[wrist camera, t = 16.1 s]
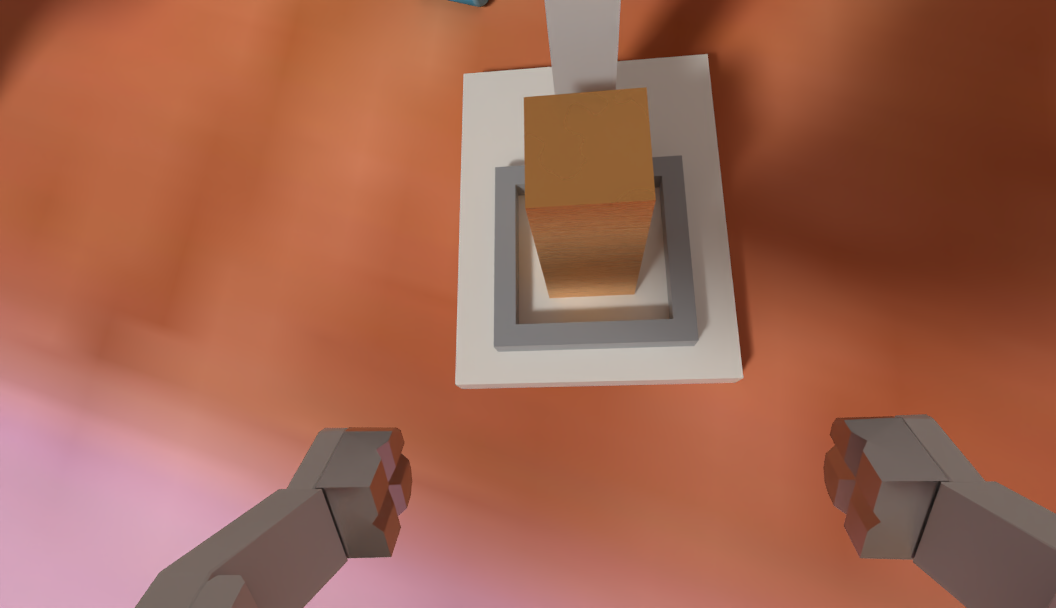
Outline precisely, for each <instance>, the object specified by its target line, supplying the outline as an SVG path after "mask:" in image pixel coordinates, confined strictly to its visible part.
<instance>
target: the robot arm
mask: <svg viewBox="0 0 1056 608" xmlns="http://www.w3.org/2000/svg"><path fill="white" fill-rule="evenodd" d="M830 436H831V438H832V440H833V441H834V443H835V446H834V447H832V448H831V449H830V450H829V451H828V452H827V453H826V455H825V461H824V467H823V468H824V479H825V485H826V488H827V491H828V494H829V496H830V499H831V501H832V503H833V505H834V506H835V507H837V508H838V509H840V510H841V511H842V512H844V513H845V514H847V515H846V519H845V523H844V527H845V529H846V531H847V533H848V535H849V537H850V539H851V541H852V543H853V545H854V547H855V549H856V551H857V553H858V555H859V557H860V558H875V559H910V560H913V562H914V563H915V564H916V565H917V566H918V567H919V568H921V569H922V570H923V571H924V572H925V573H927V574H928V575H929V576H930V577H931V578H932V579H934V580H935V581H936V582H937V583H938V584H940V585H941V586H942V587H943V588H944V589H946V590H947V591H948V592H949V593H950V594H951V595H953V596H954V597H955V598H956V599H957V600H959V601H960V602H961V603H962V604H963V605H964V606H966V607H967V608H1056V514H1055V513H1053V512H1051V511H1049V510H1048V509H1046V508H1044V507H1042V506H1040V505H1038V504H1036V503H1034V502H1033V501H1031V500H1029V499H1027V498H1025V497H1023V496H1021V495H1020V494H1018V493H1016V492H1014V491H1012V490H1010V489H1008V488H1006V487H1005V486H1003V485H1001V484H999V483H997V482H986V481H985V480H984V479H983V478H982V477H981V475H980V474H979V473H978V472H977V470H976V469H975V468H974V467H973V466H972V464H971V463H970V462H969V461H968V460H967V458H966V457H965V456H964V455H963V454H962V452H961V451H960V450H959V449H958V448H957V446H956V445H955V444H954V443H953V442H952V440H951V439H950V438H949V437H948V436H947V434H946V433H945V432H944V431H943V430H942V428H941V427H940V426H939V425H938V424H937V422H936V421H935V420H934V419H933V418H932V417H930V416H928V415H926V414H922V415H897V416H882V417H847V418H836V419H835V421H834V422H833V424H832V427H831V432H830ZM403 446H404V439H403V436H402V433H401V430H400V429H398V428H381V427H349V428H324V429H323V430H321V431H320V432H319V433H318V435H317V436H316V438H315V440H314V442H313V443H312V445H311V447H310V449H309V450H308V452H307V454H306V456H305V457H304V459H303V461H302V463H301V464H300V466H299V468H298V470H297V471H296V473H295V475H294V477H293V478H292V480H291V482H290V483H289V485H288V487H287V489H279V490H277V491H276V492H274V493H273V494H272V495H270V496H269V497H267V498H266V499H264V500H263V501H261V502H260V503H259V504H257V505H256V506H254V507H253V508H251V509H250V510H249V511H247V512H246V513H244V514H243V515H241V516H240V517H238V518H237V519H236V520H234V521H233V522H231V523H230V524H228V525H227V526H226V527H224V528H223V529H221V530H220V531H218V532H217V533H215V534H214V535H213V536H211V537H210V538H208V539H207V540H205V541H204V542H203V543H201V544H200V545H198V546H197V547H195V548H194V549H192V550H191V551H190V552H188V553H187V554H185V555H184V556H182V557H181V558H180V559H178V560H177V561H175V562H174V563H172V564H171V565H169V566H168V567H167V568H165V569H164V570H162V571H161V572H160V573H159V574H158V575H157V577H156V578H155V580H154V581H153V582H152V584H151V585H150V587H149V588H148V590H147V591H146V592H145V594H144V595H143V597H142V598H141V599H140V601H139V602H138V604H137V605H136V607H135V608H303V607H304V606H305V605H306V604H307V603H308V602H309V601H310V600H311V599H312V598H313V597H314V596H315V595H316V594H317V593H318V592H319V590H320V589H321V588H322V587H323V586H324V585H325V584H326V583H327V582H328V581H329V580H330V579H331V578H332V577H333V576H334V575H335V574H336V573H337V571H338V570H339V569H340V568H341V567H342V566H343V565H344V564H345V563H346V562H347V558H374V557H391V556H392V553H393V550H394V547H395V544H396V541H397V538H398V535H399V532H400V528H401V526H400V522H399V519H398V516H399V515H400V514H401V513H402V512H403V511H404V510H406V509H407V506H408V503H409V500H410V496H411V487H412V473H411V466H410V462H409V460H408V459H407V458H406V457H405V456H404V455H403V454H401V452H402V449H403Z"/></svg>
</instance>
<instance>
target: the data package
mask: <svg viewBox="0 0 1056 608" xmlns="http://www.w3.org/2000/svg"><path fill="white" fill-rule="evenodd" d="M449 1H454V2H458V3H463V4H468V5H472V6H477V7H481V6H484V5H485V4H486V3H487V2H488V0H449Z"/></svg>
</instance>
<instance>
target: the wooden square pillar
mask: <svg viewBox="0 0 1056 608" xmlns="http://www.w3.org/2000/svg"><path fill="white" fill-rule="evenodd" d="M524 159H525V209H526V213H527V217H528V221H529V224H530V228H531V232H532V235H533V239H534V243H535V246H536V250H537V254H538V258H539V261H540V265H541V269H542V272H543V276H544V280H545V283H546V287H547V291H548V295H549V298H565V297H588V296H610V295H633V294H635V289H636V285H637V281H638V276H639V272H640V267H641V263H642V259H643V254H644V250H645V245H646V241H647V237H648V232H649V228H650V223H651V219H652V215H653V210H654V206H655V201H656V197H655V185H654V172H653V160H652V147H651V135H650V123H649V110H648V98H647V87H643V88H631V89H619V90H606V91H594V92H581V93H569V94H557V95H544V96H532V97H524Z"/></svg>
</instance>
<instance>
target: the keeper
mask: <svg viewBox="0 0 1056 608" xmlns="http://www.w3.org/2000/svg"><path fill="white" fill-rule="evenodd" d="M620 3H621V0H545V9H546V18H547V28H548V37H549V46H550V55H551V65H552V67H542V68H530V69H518V70H505V71H493V72H481V73H468V74H464V80H463V117H462V155H461V192H460V229H459V267H458V304H457V342H456V379H455V385H457V386H458V387H460V388H462V389H480V388H524V387H567V386H611V385H655V384H699V383H736V382H737V381H739V380H741V379H742V378H743V370H742V361H741V352H740V343H739V334H738V325H737V316H736V307H735V298H734V289H733V280H732V271H731V262H730V253H729V243H728V234H727V225H726V216H725V207H724V198H723V189H722V180H721V171H720V162H719V153H718V144H717V135H716V126H715V117H714V107H713V98H712V89H711V80H710V71H709V62H708V54H702V55H690V56H677V57H665V58H653V59H640V60H628V61H617V58H618V40H619V22H620ZM643 87H647V98H648V110H649V123H650V135H651V147H652V160H653V172H654V185H655V197H656V201H655V206H654V210H653V215H652V219H651V223H650V228H649V232H648V237H647V241H646V245H645V250H644V254H643V259H642V263H641V267H640V272H639V276H638V281H637V285H636V289H635V294H633V295H610V296H588V297H565V298H549V295H548V291H547V287H546V283H545V280H544V276H543V272H542V269H541V265H540V261H539V258H538V254H537V250H536V246H535V243H534V239H533V235H532V232H531V228H530V224H529V221H528V217H527V213H526V209H525V159H524V97H532V96H544V95H557V94H569V93H581V92H594V91H606V90H619V89H631V88H643Z"/></svg>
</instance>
